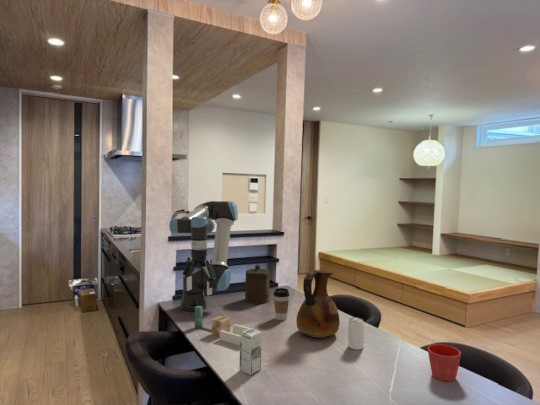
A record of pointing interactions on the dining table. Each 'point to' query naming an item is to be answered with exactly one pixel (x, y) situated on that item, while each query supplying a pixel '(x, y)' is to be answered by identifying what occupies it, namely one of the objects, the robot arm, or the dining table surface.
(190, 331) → the dining table surface
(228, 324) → the corded oak block
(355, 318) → the can
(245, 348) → the syrup box
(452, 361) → the flower pot
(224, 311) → the dining table surface
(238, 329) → the rail lane
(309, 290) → the ceramic pitcher
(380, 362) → the dining table surface
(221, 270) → the robot arm
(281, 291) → the coffee cup
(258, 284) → the wooden container
